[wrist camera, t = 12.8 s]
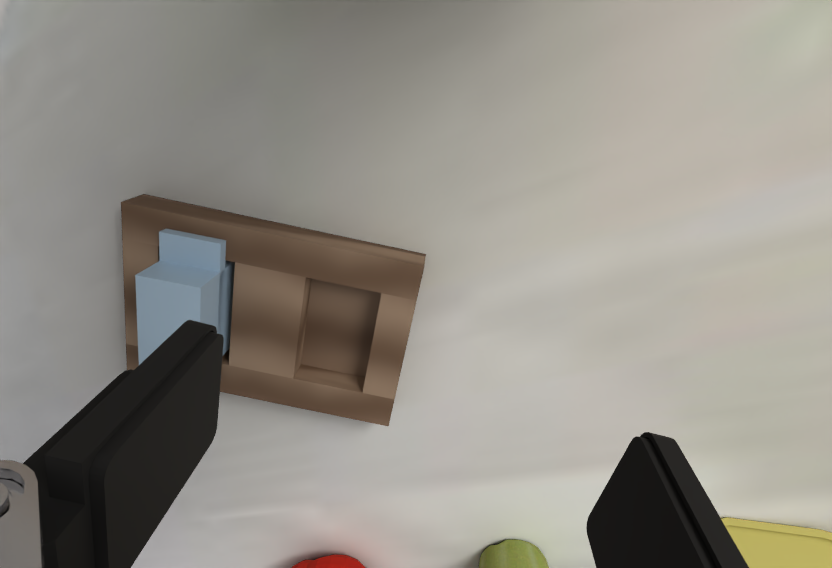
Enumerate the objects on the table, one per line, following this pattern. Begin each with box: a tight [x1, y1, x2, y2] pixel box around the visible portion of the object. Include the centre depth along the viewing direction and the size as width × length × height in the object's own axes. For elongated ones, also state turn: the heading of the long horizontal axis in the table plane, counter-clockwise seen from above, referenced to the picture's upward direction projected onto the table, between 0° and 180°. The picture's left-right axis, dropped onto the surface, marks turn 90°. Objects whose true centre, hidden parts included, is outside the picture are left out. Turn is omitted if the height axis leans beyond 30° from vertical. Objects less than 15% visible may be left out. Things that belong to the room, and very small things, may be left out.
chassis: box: [121, 194, 426, 426], centre depth 35 cm, size 13×20×3 cm, turn 79°
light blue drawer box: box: [135, 229, 235, 365], centre depth 33 cm, size 11×4×6 cm, turn 169°
